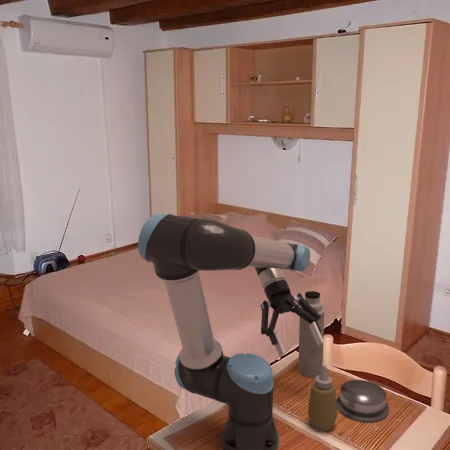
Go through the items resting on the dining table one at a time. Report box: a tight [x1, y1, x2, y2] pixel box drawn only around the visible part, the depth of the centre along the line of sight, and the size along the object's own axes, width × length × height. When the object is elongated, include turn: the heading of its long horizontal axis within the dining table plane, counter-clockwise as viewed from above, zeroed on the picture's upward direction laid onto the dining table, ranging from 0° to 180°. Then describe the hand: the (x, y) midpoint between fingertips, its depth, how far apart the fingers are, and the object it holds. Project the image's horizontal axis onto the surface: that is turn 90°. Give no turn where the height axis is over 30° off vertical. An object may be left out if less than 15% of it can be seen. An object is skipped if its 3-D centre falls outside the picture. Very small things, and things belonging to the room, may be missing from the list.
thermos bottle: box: [297, 290, 325, 378], centre depth 162 cm, size 8×8×28 cm
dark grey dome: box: [336, 379, 390, 424], centre depth 145 cm, size 15×15×5 cm
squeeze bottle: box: [307, 365, 338, 432], centre depth 135 cm, size 8×8×18 cm
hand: (302, 349), depth 142 cm, fingers open, 13 cm apart
